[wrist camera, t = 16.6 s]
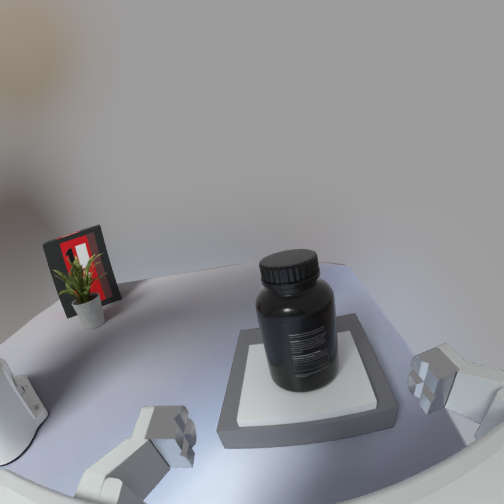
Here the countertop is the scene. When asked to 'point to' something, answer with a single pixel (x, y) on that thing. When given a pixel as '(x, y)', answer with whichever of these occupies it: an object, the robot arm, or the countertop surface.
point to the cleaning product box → (83, 248)
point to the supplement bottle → (297, 321)
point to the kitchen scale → (305, 397)
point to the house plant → (84, 294)
